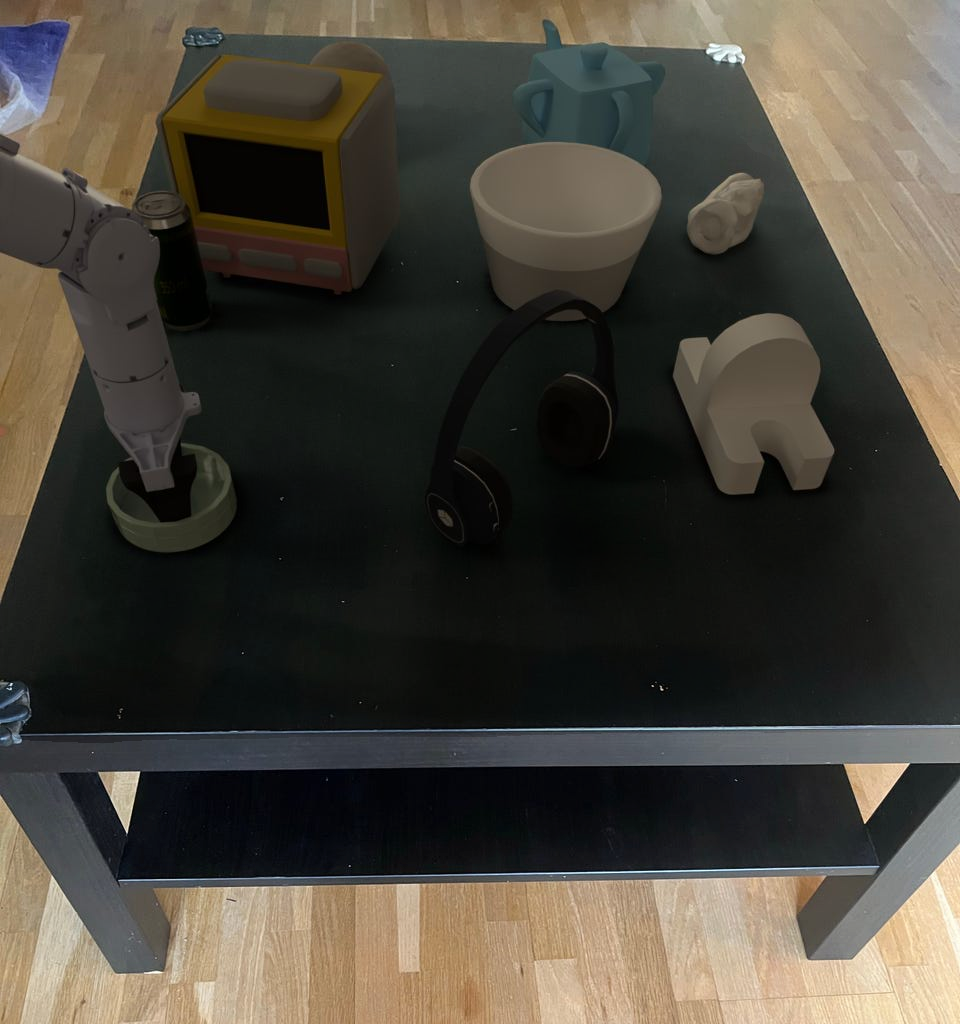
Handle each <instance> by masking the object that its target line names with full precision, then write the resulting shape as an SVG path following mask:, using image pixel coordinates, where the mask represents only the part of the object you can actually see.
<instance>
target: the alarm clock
mask: <svg viewBox="0 0 960 1024" xmlns="http://www.w3.org/2000/svg"><path fill="white" fill-rule="evenodd" d="M395 92H396V89H395V86H394V84H393V81H392V82H391V80H390V79H389V78H388V77H387V76H386V75H385V76H383V75H382V74H379V73H370V72H362V71H354V70H346V69H338V68H330V67H322V66H314V65H309V64H305V63H299V62H297V63H296V62H289V61H281V60H274V59H273V60H272V59H267V58H266V59H264V58H258V57H249V56H241V55H232V54H226V53H224V54H223V55H221V54H218V55H216V56H214V57H213V58H211V60H210V61H209V62H208V63H207V64H206V65H205V66H204V67H203V68H202V69H201V70H200V71H199V72H198V73H197V74H196V75H195V76H194V77H193V78H192V79H191V80H190V81H189V83H187V84H186V85H185V86H184V87H183V88H182V89H181V90H180V91H179V92H178V93H177V94H176V96H175V97H173V98H172V99H171V100H170V102H168V103H167V104H166V105H165V107H164V108H163V109H162V110H161V111H160V112H158V114H157V116H156V119H155V126H156V130H157V136H158V138H159V139H158V140H159V143H160V148H161V152H162V156H163V157H162V158H163V161H164V164H165V165H164V166H165V171H166V174H167V178H168V183H169V186H170V191H171V192H176V193H178V194H180V195H182V196H183V197H184V198H185V201H186V204H187V206H188V207H189V208H190V211H191V216H192V220H193V225H194V229H195V234H196V238H197V243H198V247H199V252H200V256H201V260H202V265H203V269H204V271H208V272H215V273H222V275H223V277H224V278H225V279H227V278H231V277H232V275H235V276H241V277H247V278H254V279H260V280H268V281H272V282H273V281H274V282H281V283H288V284H293V285H299V286H306V287H314V288H320V289H326V290H333V294H334V295H342V293H343V292H346V293H350V292H351V291H352V290H353V289H354V290H357V289H360V288H362V285H363V284H364V283H365V281H366V279H367V277H368V276H369V274H370V272H371V270H372V268H373V267H374V265H375V263H376V261H377V259H378V257H379V255H380V254H381V252H382V250H383V248H384V246H385V244H386V243H387V241H388V239H389V237H390V236H391V234H392V232H393V230H394V229H395V226H396V224H397V223H398V221H399V219H400V217H401V207H400V186H399V185H400V184H399V161H398V159H399V158H398V139H397V137H398V136H397V114H396V113H397V111H396V93H395Z"/></svg>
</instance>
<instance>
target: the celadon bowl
mask: <svg viewBox="0 0 960 1024" xmlns="http://www.w3.org/2000/svg"><path fill="white" fill-rule="evenodd" d="M181 450H182V456H184V455H190V454H195V456H196V462H197V474H196V478H195V479H194V481H193V484H192V487H191V494H190V499H191V517H188V518H185V519H182V520H179V521H176V522H163V523H161V522H160V521H159V520H158V518H157V517H156V515H155V514H154V512H153V511H152V510H151V508H150V507H149V506H148V504H147V503H146V502H145V501H144V500H143V499H142V498H140V497H139V496H138V495H137V494H135V493H133V492H132V491H130V490H128V489H126V487H125V486H124V485H123V483H122V481H121V478H120V475H119V466H118V467H117V468H116V469H114V471H113V472H111V475H110V477H109V480H108V482H107V485H106V487H105V491H106V502H107V505H108V507H109V510H110V513H111V515H112V518H113V520H114V523H115V525H116V526H117V528H118V530H119V532H120V533H121V535H122V537H124V538H125V539H126V541H128V542H130V543H131V544H132V545H134V546H136V547H138V548H141V549H143V550H146V551H149V552H157V553H178V552H185V551H188V550H192V549H195V548H198V547H200V546H203V545H205V544H208V543H209V542H211V541H213V540H215V539H216V538H217V537H218V536H220V535H221V534H222V533H223V532H225V531H226V530H227V528H228V527H229V526H230V524H231V523H232V521H233V519H234V518H235V516H236V512H237V506H238V501H237V495H236V491H235V486H234V481H233V478H232V473H231V469H230V466H229V464H228V463H227V462H226V461H225V460H224V459H223V457H222V456H221V455H220V454H219V453H218V452H216V451H213V450H211V449H209V448H208V447H205V446H203V445H197V444H191V443H185V442H181ZM128 460H133V459H132V457H131V456H130V457H128V458H126V459H125V460H124V461H128Z"/></svg>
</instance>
